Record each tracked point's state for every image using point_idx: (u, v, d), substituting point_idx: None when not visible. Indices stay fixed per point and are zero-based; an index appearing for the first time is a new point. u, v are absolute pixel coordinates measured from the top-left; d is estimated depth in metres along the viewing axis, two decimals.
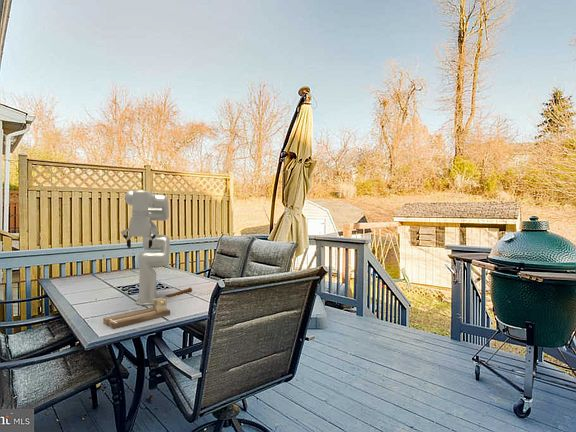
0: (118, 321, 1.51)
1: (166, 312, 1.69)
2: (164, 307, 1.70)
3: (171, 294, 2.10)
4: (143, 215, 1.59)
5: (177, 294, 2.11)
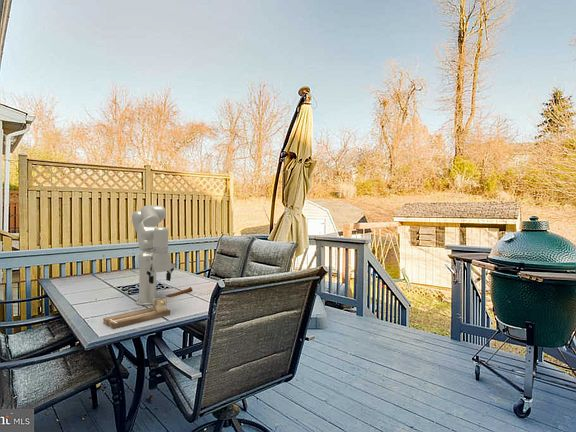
0: (118, 321, 1.51)
1: (166, 312, 1.69)
2: (164, 307, 1.70)
3: (172, 294, 2.10)
4: None
5: (178, 294, 2.11)
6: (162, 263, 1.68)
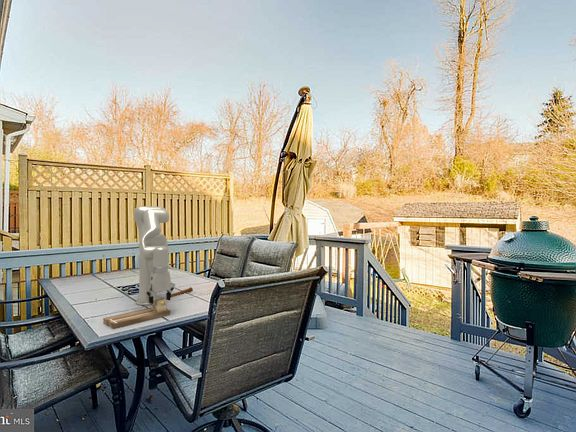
0: (118, 321, 1.51)
1: (166, 312, 1.69)
2: (164, 307, 1.70)
3: (172, 294, 2.10)
4: None
5: (178, 294, 2.11)
6: (162, 283, 1.68)
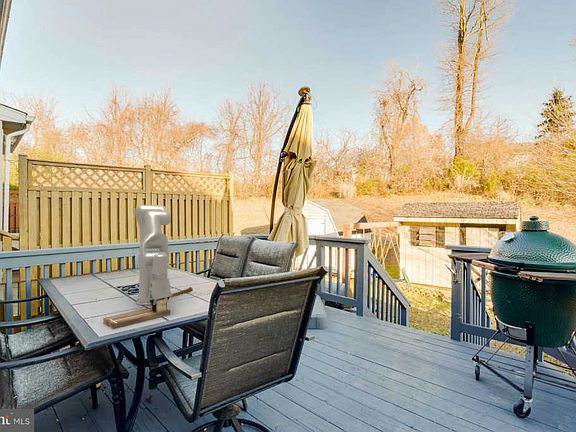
0: (118, 321, 1.51)
1: (166, 312, 1.69)
2: (164, 307, 1.70)
3: (173, 294, 2.10)
4: None
5: (179, 294, 2.12)
6: (162, 290, 1.68)
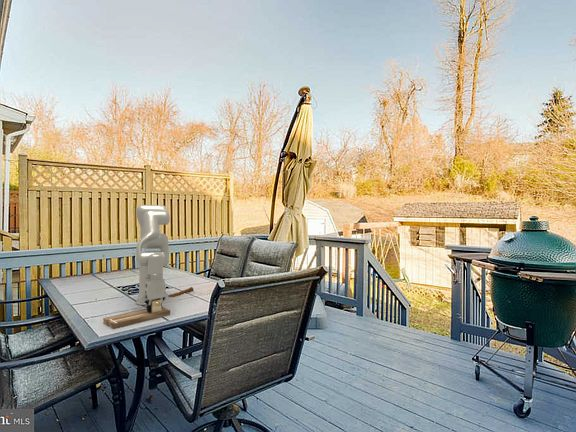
0: (118, 321, 1.51)
1: (166, 312, 1.69)
2: (159, 307, 1.68)
3: (174, 294, 2.10)
4: None
5: (180, 294, 2.12)
6: (157, 290, 1.66)
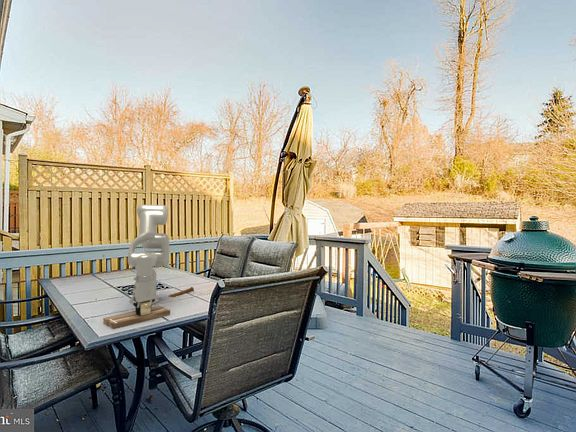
0: (118, 321, 1.51)
1: (166, 312, 1.69)
2: (148, 310, 1.63)
3: (174, 294, 2.10)
4: None
5: (180, 294, 2.12)
6: (146, 292, 1.61)
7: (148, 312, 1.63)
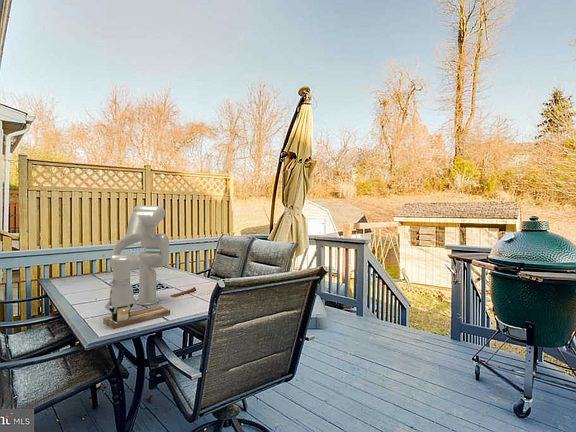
0: None
1: (166, 312, 1.69)
2: (126, 315, 1.54)
3: (176, 294, 2.10)
4: None
5: (182, 294, 2.11)
6: (123, 297, 1.53)
7: (126, 318, 1.54)
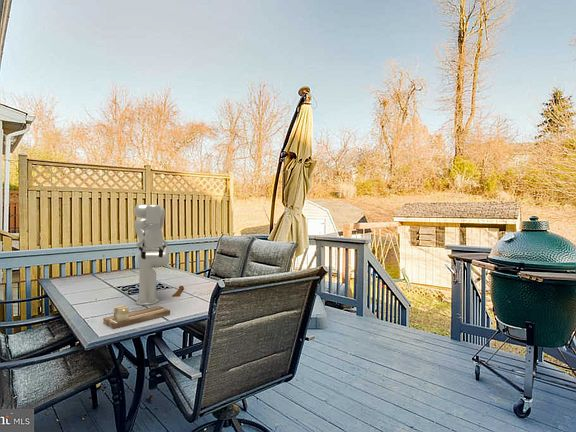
0: None
1: (166, 312, 1.69)
2: (126, 315, 1.54)
3: (176, 294, 2.11)
4: None
5: (180, 293, 2.14)
6: (154, 240, 1.72)
7: (126, 318, 1.54)
